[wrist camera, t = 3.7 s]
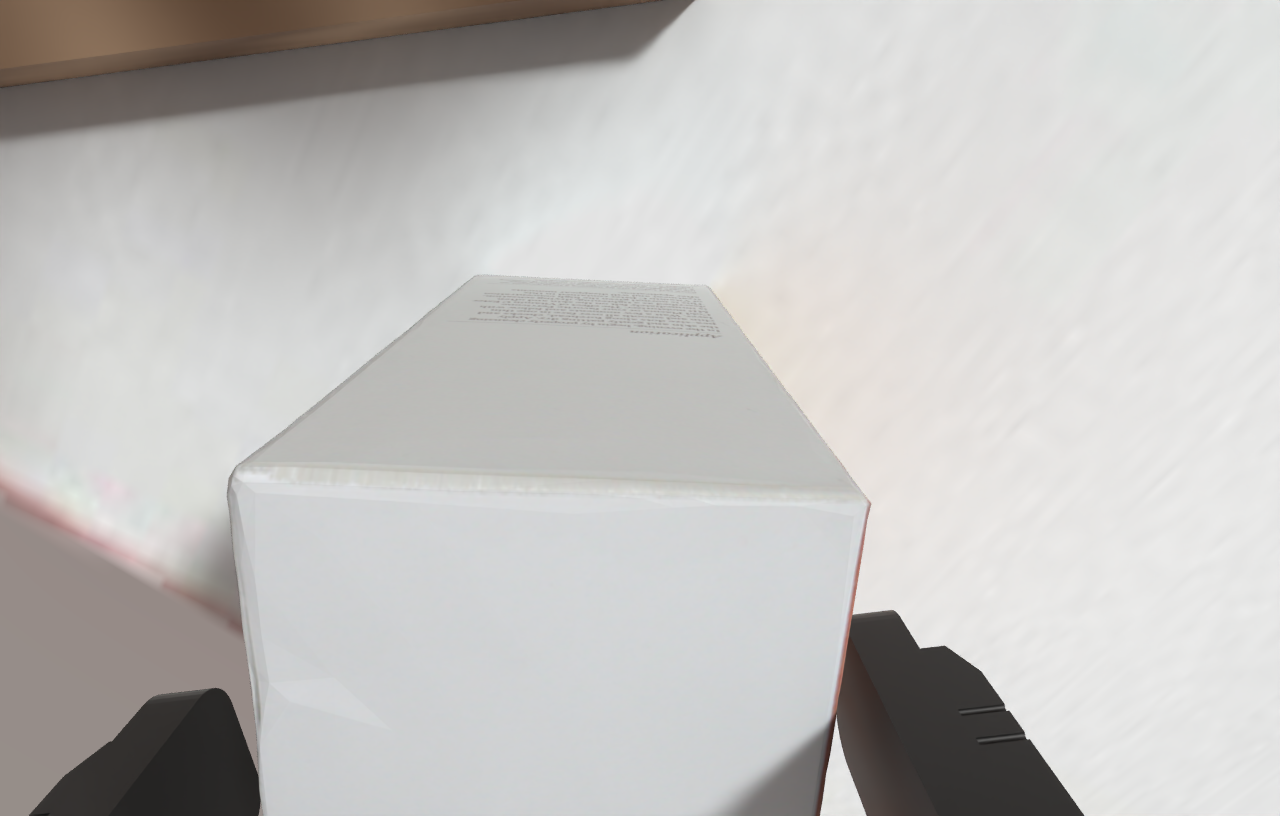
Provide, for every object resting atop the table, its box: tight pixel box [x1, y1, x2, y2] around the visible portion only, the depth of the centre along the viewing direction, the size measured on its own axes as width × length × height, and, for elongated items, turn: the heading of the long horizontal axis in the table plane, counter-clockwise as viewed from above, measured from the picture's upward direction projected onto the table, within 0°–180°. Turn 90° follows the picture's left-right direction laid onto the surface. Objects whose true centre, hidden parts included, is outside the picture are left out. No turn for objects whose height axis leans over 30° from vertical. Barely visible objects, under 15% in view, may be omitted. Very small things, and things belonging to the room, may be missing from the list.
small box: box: [227, 275, 871, 816], centre depth 14 cm, size 8×6×13 cm
